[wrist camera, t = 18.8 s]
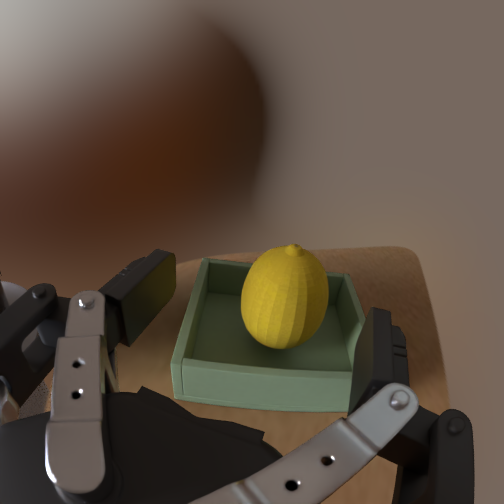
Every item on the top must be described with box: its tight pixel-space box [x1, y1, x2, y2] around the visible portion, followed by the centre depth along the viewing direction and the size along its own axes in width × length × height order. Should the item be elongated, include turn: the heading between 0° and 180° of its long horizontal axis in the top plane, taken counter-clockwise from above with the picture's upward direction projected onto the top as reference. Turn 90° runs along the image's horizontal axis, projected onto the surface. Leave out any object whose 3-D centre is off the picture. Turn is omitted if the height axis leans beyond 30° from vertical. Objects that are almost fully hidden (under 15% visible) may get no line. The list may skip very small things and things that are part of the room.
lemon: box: [241, 244, 329, 349], centre depth 20 cm, size 6×6×8 cm
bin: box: [171, 258, 366, 412], centre depth 22 cm, size 12×11×4 cm
